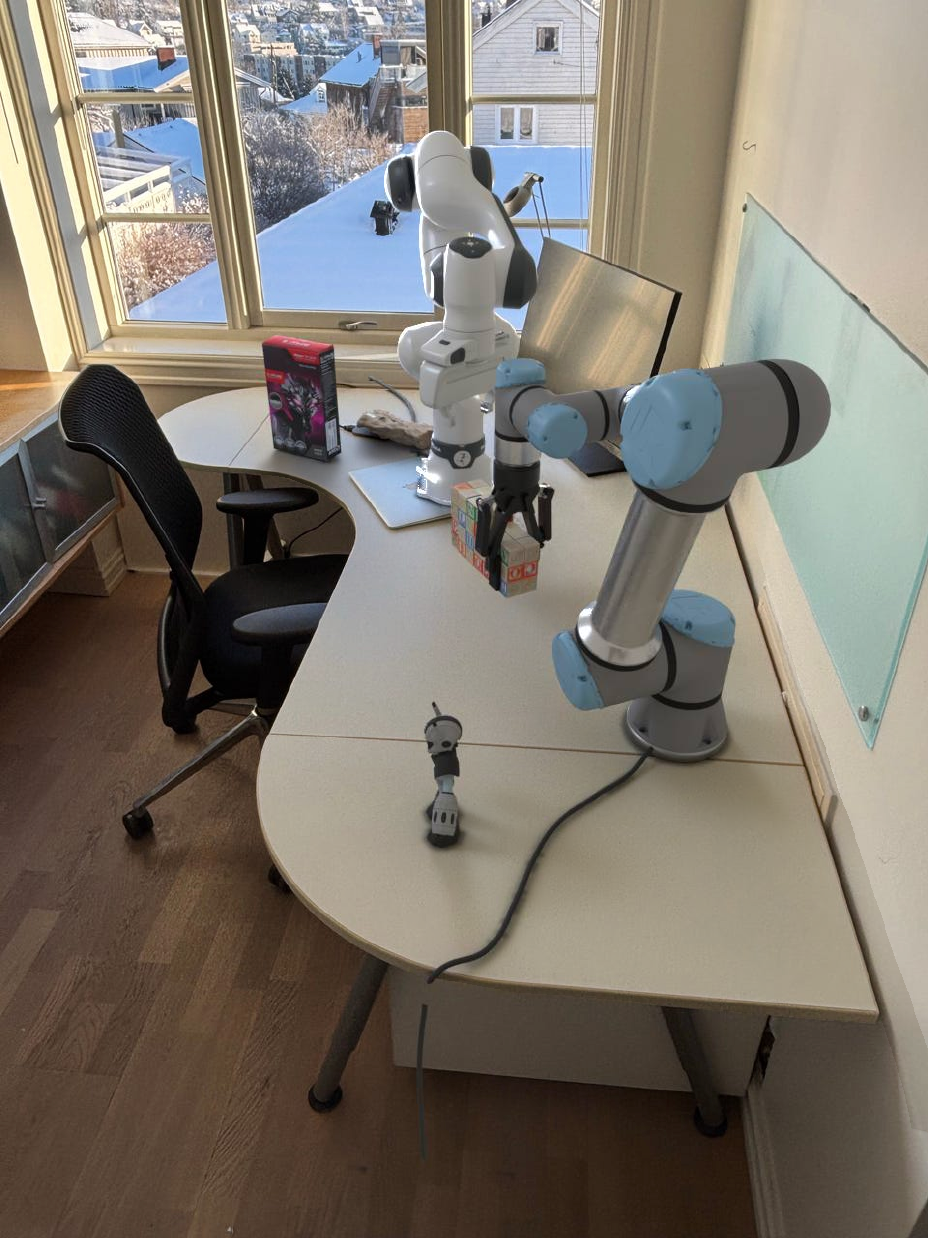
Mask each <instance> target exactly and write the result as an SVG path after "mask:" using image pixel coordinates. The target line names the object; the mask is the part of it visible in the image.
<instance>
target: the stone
mask: <svg viewBox="0 0 928 1238" xmlns="http://www.w3.org/2000/svg"><path fill="white" fill-rule="evenodd" d="M356 427H357V428H358V429H361V428H365V429H368V431H369V432H370V433H373V434H377V435H378V437H379V439H383V440H388V439H389V440H390V441H393V442H395V443H400V444H401V445H405V446H411V445H412V446H415V447H417V448H418V449H419V450H426V449H427V447H428V446H429V444H430V443H431V439H432V434H433V433H434V426H433V424H428V423H419V422H416V421H415V422H411V421H408V420H404V419H402V418H401V417H397V416H396V415H394V414H393V413H390V412H389V411H387V410H382V409H373V410H365V411H364V412H362V414H361V415H360V416H359V418H358V419H357V421H356Z"/></svg>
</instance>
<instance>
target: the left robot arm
mask: <svg viewBox="0 0 928 1238" xmlns="http://www.w3.org/2000/svg"><path fill="white" fill-rule="evenodd" d="M494 165H495V164H494V163H493V161H492V158H491V156H490V154H489V151H488V150H487V149H486V147H482V146H478V145H468V146H467V147H465V146H464V145H463V144H462V142H461V141H460V139H459V138H458V137H457V136H456V135H455V134H453V133H451V132H450V131H446V130H435V131H432V132H430V133H428V134H426V135H425V136H424V137H423V138H422V139H421V140H420V141H419V143H418V145H417V148H416V151H415V152H413V153H410V154H405V153H402V154H399V155H397V156H394V157H393V158H391V159H390V161H389V162H388V163H387V165H386V166H387V168H386V170H385V173H384V189H385V193H386V196H387V198H388V200H389V201H390V203H391V206H392V207H393V208H394V209H395V210H396V211H399V212H404V213H412V211H417V212H418V211H419V212H421V211H422V212H421V214H420V220H419V253H420V262H421V269H422V275H423V276H422V277H423V285H424V292H425V295H426V296H427V298H428V299H429V301H430V302H431V303H432V304H434V306H437V307H438V308H441V309H443V310H445V312H444V313H445V314H444V316H443V321H431V322H424V323H420V324H417V325H413V326H409V327H406V328H405V329H404V330H403V332H402V333H401V335H400V336H399V339H398V343H397V358H398V360H399V363H400V365H401V367H402V368H403V370H404V371H405V372H406V373H407V374H409V376H410V377H413V378H414V379H416V380H417V381H418V383H419V400H420V402H421V403H422V404H423V405H424V406H425V407H428V408H430V409H432V411H431V412H432V421H433V422H432V426H433V427H434V433H433V434H432V439H431V441H430V444H431V449H428V453H426V452H424V451H422V449H420V448H417V447H415V446H412V445H410V447H411V449H412V450H413V451H415V452H416V453H417V454H419V455H420V456H423V457H422V458H421V468H420V467H419V466H416V471H417V472H419V474H420V476H421V474H423V475H424V480H426V488H420V489H419V487H418V486H417V490H416V491H417V493H416V496H417V497H419V498H423V499H428V500H430V501H432V502H434V503H437V504H440V505H443V506H450V507H451V503H450V502H444V501H441V500H446V501H451V486H453V485H457V484H461V483H467V482H470V481H474V480H479V479H481V480H483V481H484V482H485V483H486V484H488V486H489V487H491V488H492V489H493V488H494V481H493V468H492V467H493V466H492V465H493V464H492V458H491V457H490V456H489V455H488V454H487V453H486V445H487V440H486V434H485V433H484V424H485V423H484V422H485V420H484V419H485V415H487V414H491V413H493V412H494V404H495V388H494V386H495V384H496V373H497V368H498V366H499V364H500V363H502V362H503V361H506V360H509V359H516V358H518V356H519V353H520V352H519V351H520V339H519V335H518V332H517V331H516V328H515V327H514V326H513V324H511V322H509V321H508V320H506V319H505V318H503V317H502V316H500V315H499V314H498V313H497V312H496V311H495V310H494V309H501V308H502V309H508V310H521V309H522V308H524V307H525V306H526V305H527V304H528V303H529V302H530V301H531V300H532V299H533V297H535V295H536V293H537V288H538V270H537V266H536V261H535V259H534V257H533V256H532V254H531V252H529V250H528V249H527V248H526V247H525V245H524V243H523V242H522V240H521V237H520V236H519V234H518V232H517V230H516V228H515V226H514V224H513V222H512V220H511V218H510V216H509V214H508V211H507V210H506V208H505V206H504V205H503V203H502V201H501V199H500V197H499V196H498V195H497V194H496V193H494V192H493V189H494V185H495V179H496V172H495V171H496V170H495V166H494ZM471 234H473V235H477V236H480V237H477V236H471ZM481 237H483V238H481ZM367 378H368V379H369V380H371V381H373V382H375V383H377V384H379V386H382V387H384V388H385V389H387V390H389V391H390V392H392V393H394V394H395V395H396V396H397V397H398V398H399V399H401V400H402V401H403V403H405V405H406V406H407V407H408V410H409V413H410V419H411V420H410V422H416V416H415V412H414V408H413V407H412V405H411V403H410V402H409V400H408V399H407V398H406V397H405V396H404V395H403V394H402V393H400V392H398V390H396V389H395V388H394V387H392V386H389V385H388V384H386V383H384V382H383V381H381V380H379V379H377V378H376V377H373V376H372V375H368V376H367ZM484 393H485V396H484V399H483V400H482V398H481V396H480V395H482V394H484ZM422 468H426V470H424V471H423V470H422ZM425 471H426V472H425ZM420 476H419V477H420ZM424 490H426V491H424ZM423 494H426V495H423ZM428 495H429V496H428ZM431 496H432V497H431ZM433 497H435V498H438V499H440V500H438V499H435V498H433Z"/></svg>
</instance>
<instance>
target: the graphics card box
mask: <svg viewBox="0 0 928 1238" xmlns="http://www.w3.org/2000/svg"><path fill="white" fill-rule="evenodd" d="M261 349H262V358H263V365H264V366H263V367H264V375H265V383H266V392H267V400H268V401H267V402H268V409H269V419H270V429H271V437H272V446H273V449H274V450H277V451H282V452H286V453H291V454H295V455H299V456H303V457H307V458H312V459H316V460H320V461H324V462H329V461H330V460H332V459H333V458H335V457H337V456H338V455H340V454H342V442H341V441H342V439H341V426H340V415H339V414H340V413H339V402H338V401H339V400H338V389H337V388H338V387H337V386H338V385H337V375H336V374H337V373H336V358H335V357H336V356H335V346H334V344H331V343H323V342H322V343H321V342H316V341H311V340H306V339H302V338H296V337H292V336H291V337H290V336H286V335H285V336H284V335H280V334H275V335H273V336H271V337H269V338H266V339H265V340H263V341H262V342H261Z"/></svg>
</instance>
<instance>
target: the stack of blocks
mask: <svg viewBox="0 0 928 1238" xmlns="http://www.w3.org/2000/svg"><path fill="white" fill-rule="evenodd" d="M492 490H493V489H492V488H491V487H489V486H488V484H486V483H485V482H484V481H483V480H481V479H479V480H474V481H470V482H467V483H461V484H457V485H453V486H451V506H450V516H451V531H450V532H451V545H452V546H453V548H455V550H457V552H458V553H459V555H461V556H462V557H463V558H464V559H466V561H467V562H468V563H469V564H470V565H471V566H472V567H474V568H475V569H476V570H477V571H478V572H479V573H480V574H482V575H483V577H485V579H487V580H488V581H489V572H488V571H486V569H485V557H482V556H481V555H480V554H479V553H478V552H477V551H476V550H475V539H476V528H477V517H478V508H477V505H476V499H477V498H479V497H481V498H482V499H484V498H486V497H488V496H490V495H491V492H492ZM496 505H497V504H496V503H494V504H493V510H492V511H491V526H492V523H493V520H494V517H495V508H496ZM490 529H491V527H490ZM539 553H540V554H541V549H540V543H539V542H537V541H536V540H535V539H534V538H532V537H531V536H530V535H529V534H528V533H527V530H526V529H523V528H522V527H521V526H520V525H519V524H518V523H516V522H515V521H514V514H513V515H512V518H511V520H510V521H509V522H508V524H507V527H506V530H505V533H504V536H503V539H502V542H501V545H500V548H499V551H498V555H499V556H500V557H501V577H500V590H499V591H498V592H499V593H500V594H501V595H502V596H503V597H504V598H506V599H509V598H513V597H516V596H520V595H524V594H528V593H531V592H535V591H537V588H538V575H539V573H538V572H539V561H538V559H539ZM539 560H540V559H539Z"/></svg>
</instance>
